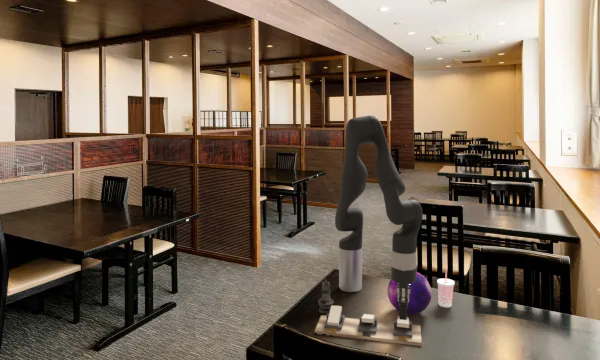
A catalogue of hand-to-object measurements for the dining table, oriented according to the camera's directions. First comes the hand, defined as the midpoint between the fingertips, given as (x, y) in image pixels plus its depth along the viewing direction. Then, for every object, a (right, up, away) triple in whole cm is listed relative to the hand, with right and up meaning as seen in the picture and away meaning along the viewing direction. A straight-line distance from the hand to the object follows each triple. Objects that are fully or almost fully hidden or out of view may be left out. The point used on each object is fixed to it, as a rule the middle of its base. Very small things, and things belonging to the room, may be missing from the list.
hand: (403, 318), depth 126 cm
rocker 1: (-20, -2, +9) cm, 22 cm away
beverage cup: (+22, -3, +24) cm, 32 cm away
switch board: (-10, -6, +6) cm, 13 cm away
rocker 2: (-10, -3, +6) cm, 12 cm away
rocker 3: (+1, -3, +4) cm, 5 cm away
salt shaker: (-23, -4, +21) cm, 31 cm away
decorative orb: (+7, -4, +18) cm, 20 cm away
